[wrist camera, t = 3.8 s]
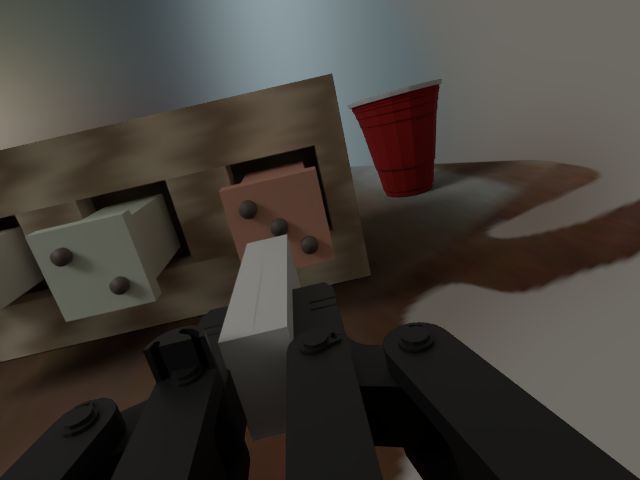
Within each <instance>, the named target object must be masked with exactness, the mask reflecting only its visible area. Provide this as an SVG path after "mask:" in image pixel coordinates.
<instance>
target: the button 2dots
mask: <svg viewBox="0 0 640 480" xmlns="http://www.w3.org/2000/svg"><path fill="white" fill-rule="evenodd" d="M25 239H26V241H27V243H28V245H29V247H30V249H31V251H32V253H33V255H34V257H35V259H36V261H37V263H38V265H39V267H40V270H41V272H42V274H43V276H44V278H45V280H46V282H47V284H48V286H49V288H50V290H51V292H52V294H53V296H54V298H55V300H56V302H57V304H58V307H59V309H60V311H61V313H62V315H63V317H64V319H65V321H66V322H68V321H73V320H77V319H81V318H86V317H90V316H94V315H98V314H103V313H107V312H111V311H115V310H120V309H124V308H128V307H133V306H137V305H141V304H145V303H150V302H154V301H156V300H157V299H158V297H159V296H160V294H161V290H160V288H159V285H158V283H157V280H156V278H157V277H158V276H159V274H160V273H161V272H162V270H163V269H164V268H165V266H166V265H167V264H168V262H169V261H170V260H171V259H172V257H173V256H174V255H175V253H176V252H177V251H178V249H179V248H180V247H181V246H180V243H179V240H178V237H177V234H176V231H175V229H174V226H173V223H172V220H171V217H170V214H169V212H168V209H167V206H166V203H165V200H164V197H163V195H162V194H157V195H153V196H149V197H145V198H140V199H136V200H132V201H127V202H123V203H119V204H114V205H110V206H106V207H104V208H102V209H100V210H99V211H97V212H95V213H93V214H91V215H89V216H88V217H86V218H84V219H82V220H80V221H77V222H72V223H68V224H64V225H59V226H55V227H51V228H46V229H42V230H38V231H35V232H33V233H31V234H29V235H27V236H25Z"/></svg>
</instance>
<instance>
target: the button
mask: <svg viewBox="0 0 640 480" xmlns="http://www.w3.org/2000/svg"><path fill="white" fill-rule="evenodd" d="M44 279H45V278H44V276H43V274H42V272H41V270H40V267H39V265H38V263H37V261H36V259H35V257H34V255H33V253H32V251H31V249H30V247H29V245H28V243H27V241H26V239H25V235H24V232H23V230H22V228H21V226H20V227H15V228H11V229H7V230H2V231H0V310H1V309H3V308H4V307H6V306H7V305H8V304H10V303H11V302H13V301H14V300H15V299H17V298H18V297H20V296H21V295H22V294H24V293H25V292H27V291H28V290H29V289H31V288H32V287H34V286H35V285H37V284H38V283H39V282H41V281H42V280H44Z"/></svg>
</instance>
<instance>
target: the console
mask: <svg viewBox="0 0 640 480" xmlns="http://www.w3.org/2000/svg"><path fill="white" fill-rule="evenodd" d="M300 161H303V165H304V168H309V167H313V166H315V169H316V173H317V177H318V182H319V186H320V191H321V195H322V200H323V204H324V209H325V213H326V218H327V222H328V227H329V231H330V236H331V240H332V245H333V249H334V254H335V259H334V260H330V261H325V262H321V263H317V264H312V265H308V266H304V267H300V268H296V271H297V275H298V279H299V282H300V286H301V287H305V286H309V285H313V284H318V283H322V282H326V283H327V284H329V285H332V284H336V283H340V282H345V281H349V280H353V279H357V278H362V277H366V276H370V275H371V273H370V267H369V262H368V257H367V252H366V247H365V241H364V236H363V231H362V226H361V221H360V216H359V210H358V205H357V200H356V195H355V190H354V184H353V179H352V174H351V169H350V164H349V160H348V154H347V148H346V143H345V138H344V133H343V128H342V123H341V117H340V112H339V107H338V102H337V96H336V91H335V86H334V81H333V76H332V74H328V75H324V76H320V77H315V78H311V79H307V80H302V81H298V82H294V83H290V84H285V85H281V86H277V87H272V88H268V89H263V90H259V91H255V92H250V93H246V94H242V95H238V96H233V97H229V98H224V99H220V100H216V101H211V102H207V103H203V104H198V105H194V106H190V107H185V108H181V109H177V110H173V111H168V112H164V113H159V114H155V115H151V116H146V117H142V118H138V119H133V120H129V121H125V122H121V123H117V124H112V125H108V126H103V127H99V128H95V129H90V130H86V131H81V132H77V133H73V134H68V135H65V136H60V137H56V138H52V139H47V140H43V141H39V142H34V143H30V144H25V145H21V146H17V147H12V148H8V149H4V150H0V231H2V230H7V229H11V228H15V227H20V226H21V228H22V230H23V232H24V235H25V236H27V235H29V234H31V233H33V232H35V231H38V230H42V229H46V228H51V227H55V226H59V225H64V224H68V223H72V222H77V221H80V220H82V219H84V218H86V217H88V216H89V215H91V214H93V213H95V212H97V211H99V210H100V209H102V208H104V207H106V206H110V205H114V204H119V203H123V202H127V201H132V200H136V199H140V198H145V197H149V196H153V195H157V194H162V195H163V197H164V200H165V203H166V206H167V209H168V212H169V214H170V217H171V220H172V223H173V226H174V229H175V231H176V234H177V237H178V240H179V243H180V246H181V247H180V248H179V249H178V251H177V252H176V253H175V255H174V256H173V257H172V259H171V260H170V261H169V262H168V264H167V265H166V266H165V268H164V269H163V270H162V272H161V273H160V274H159V276H158V277H157V278H156V280H157V283H158V285H159V288H160V290H161V294H160V296H159V297H158V299H157V300H156V301H154V302H150V303H145V304H141V305H137V306H133V307H128V308H124V309H120V310H115V311H111V312H107V313H103V314H98V315H94V316H90V317H86V318H81V319H77V320H73V321H68V322H66V321H65V319H64V317H63V315H62V313H61V311H60V309H59V307H58V304H57V302H56V300H55V298H54V296H53V294H52V292H51V290H50V288H49V286H48V284H47V282H46V280H45V279H44V280H42V281H41V282H39V283H38V284H37V285H35V286H34V287H32V288H31V289H29V290H28V291H27V292H25V293H24V294H22V295H21V296H20V297H18V298H17V299H15V300H14V301H13V302H11V303H10V304H8V305H7V306H6V307H4V308H3V309H1V310H0V362H2V361H7V360H11V359H15V358H20V357H24V356H28V355H32V354H37V353H41V352H45V351H49V350H54V349H58V348H62V347H67V346H71V345H75V344H79V343H84V342H88V341H92V340H96V339H101V338H105V337H109V336H114V335H118V334H122V333H126V332H131V331H135V330H139V329H144V328H148V327H152V326H156V325H161V324H165V323H169V322H173V321H178V320H182V319H186V318H191V317H195V316H199V315H203V314H207V313H208V312H209V311H210V310H213V309H217V308H221V307H225V306H229V303H230V300H231V297H232V293H233V290H234V286H235V283H236V279H237V276H238V273H239V269H240V266H241V262H240V259H239V256H238V252H237V249H236V246H235V243H234V239H233V236H232V233H231V229H230V226H229V223H228V220H227V216H226V213H225V210H224V207H223V203H222V200H221V197H220V194H219V191H220V190H221V188H223V187H227V186H232V185H236V184H240V183H241V182H242V180H243V179H244V177H245V175H246V174H248V173H252V172H257V171H261V170H265V169H269V168H274V167H278V166H282V165H287V164H291V163H295V162H300Z"/></svg>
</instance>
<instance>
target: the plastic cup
mask: <svg viewBox="0 0 640 480" xmlns="http://www.w3.org/2000/svg"><path fill="white" fill-rule="evenodd" d="M441 81H442V80H441V79H438V80H433V81H429V82H424V83H420V84H416V85H412V86H409V87H405V88H401V89H398V90H394V91H391V92H387V93H384V94H380V95H377V96H373V97H370V98H367V99H364V100H361V101H358V102H355V103H352V104H350V105H348V107H349V109H352V112H353V113H354V114H355V116H356V119H357V120H358V122H359V125H360V127H361V128H362V131H363V134H364V137H365V139H366V142H367V145H368V148H369V151H370V153H371V156H372V159H373V162H374V165H375V168H376V170H377V171H378V174H379V177H380V180H381V183H382V186H383V189H384V191H385V192H386V195H387V196H390V197H404V196H411V195H416V194H420V193H423V192H426V191H428V190H429V189H431V188H432V183H433V179H434V159H435V144H436V113H437V100H438V92H439V84H441Z"/></svg>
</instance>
